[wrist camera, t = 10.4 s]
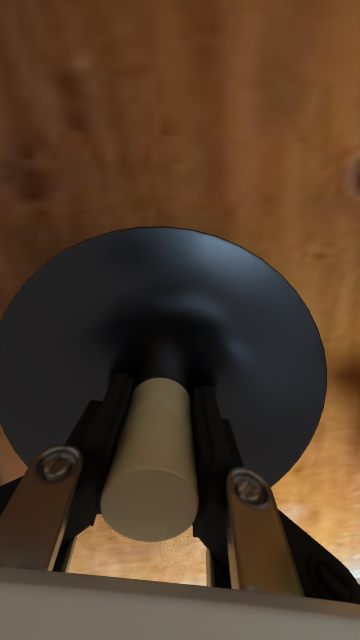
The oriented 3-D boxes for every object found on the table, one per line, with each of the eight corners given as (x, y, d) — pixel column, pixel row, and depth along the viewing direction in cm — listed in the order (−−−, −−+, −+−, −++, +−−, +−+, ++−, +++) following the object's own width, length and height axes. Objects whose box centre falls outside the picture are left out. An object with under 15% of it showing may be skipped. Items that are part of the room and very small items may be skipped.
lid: (3, 196, 10) (-238, 122, 4) (360, 263, 11) (567, 278, 5) (9, 486, 14) (-105, 648, 8) (266, 516, 15) (322, 681, 9)
